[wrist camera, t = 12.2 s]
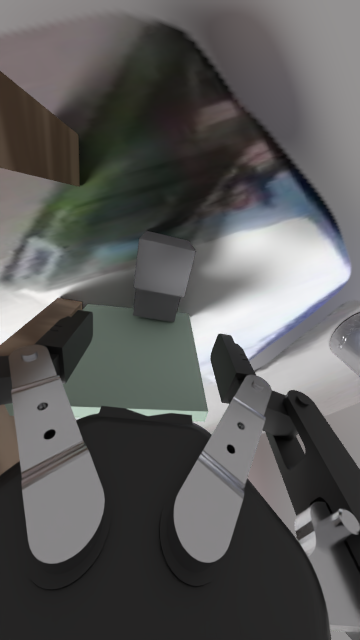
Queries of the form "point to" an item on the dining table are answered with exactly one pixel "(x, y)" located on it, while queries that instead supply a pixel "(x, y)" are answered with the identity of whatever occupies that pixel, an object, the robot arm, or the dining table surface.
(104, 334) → the door
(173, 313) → the grey stepped block
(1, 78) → the wall frame
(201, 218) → the dining table surface
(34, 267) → the dining table surface
